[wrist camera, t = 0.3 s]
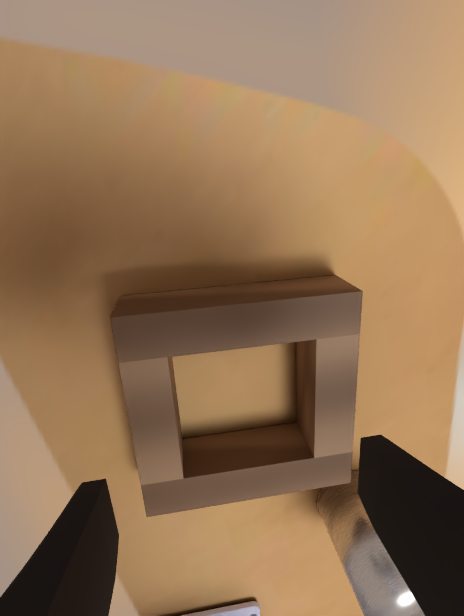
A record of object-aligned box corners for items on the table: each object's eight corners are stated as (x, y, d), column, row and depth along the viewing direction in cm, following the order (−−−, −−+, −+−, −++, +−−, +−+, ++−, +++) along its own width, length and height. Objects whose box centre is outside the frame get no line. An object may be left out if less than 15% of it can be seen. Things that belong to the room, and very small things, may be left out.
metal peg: (376, 515, 26) (445, 630, 19) (316, 526, 25) (365, 648, 19) (381, 465, 24) (457, 571, 18) (317, 476, 24) (371, 589, 17)
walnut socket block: (329, 445, 23) (350, 482, 20) (150, 473, 22) (146, 517, 19) (335, 274, 19) (362, 291, 16) (120, 296, 18) (109, 317, 15)
